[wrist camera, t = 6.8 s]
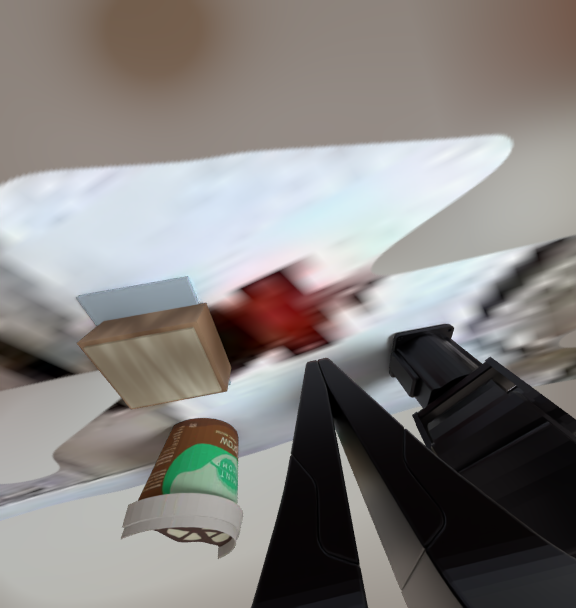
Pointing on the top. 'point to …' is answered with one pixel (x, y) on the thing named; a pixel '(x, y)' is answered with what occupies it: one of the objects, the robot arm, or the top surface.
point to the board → (138, 300)
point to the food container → (192, 487)
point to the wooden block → (160, 355)
